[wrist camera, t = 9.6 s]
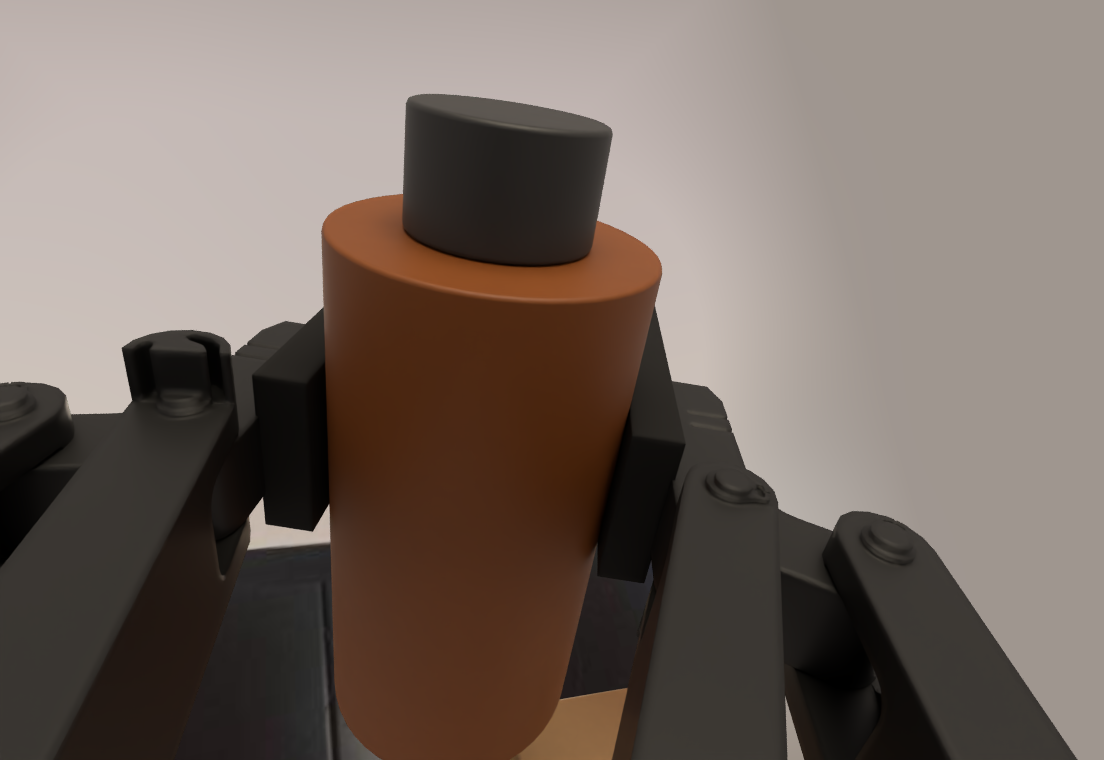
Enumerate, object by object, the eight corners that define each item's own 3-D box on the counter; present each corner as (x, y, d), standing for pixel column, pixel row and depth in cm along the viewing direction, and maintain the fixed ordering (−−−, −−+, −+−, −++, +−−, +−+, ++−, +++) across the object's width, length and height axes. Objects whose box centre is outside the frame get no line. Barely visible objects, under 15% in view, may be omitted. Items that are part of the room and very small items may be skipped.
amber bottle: (579, 606, 15) (693, 127, 10) (536, 813, 11) (693, 171, 6) (394, 557, 15) (412, 77, 10) (286, 735, 11) (224, 84, 6)
